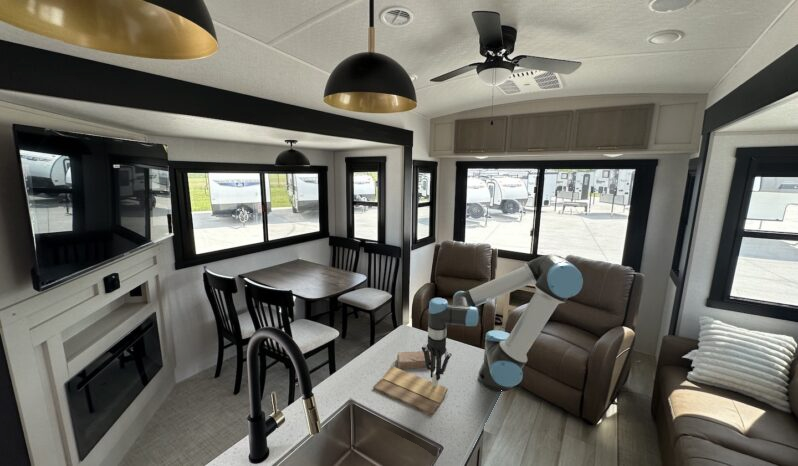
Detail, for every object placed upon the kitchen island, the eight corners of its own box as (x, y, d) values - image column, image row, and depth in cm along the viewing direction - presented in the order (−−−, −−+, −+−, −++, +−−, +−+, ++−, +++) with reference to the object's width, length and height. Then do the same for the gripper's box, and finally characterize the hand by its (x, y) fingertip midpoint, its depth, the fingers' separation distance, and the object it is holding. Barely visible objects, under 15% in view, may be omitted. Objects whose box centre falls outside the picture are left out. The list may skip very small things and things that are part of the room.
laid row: (438, 406, 124) (438, 403, 124) (432, 416, 119) (432, 413, 118) (381, 381, 138) (381, 378, 138) (373, 389, 133) (373, 386, 133)
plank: (447, 390, 131) (447, 388, 130) (439, 405, 125) (439, 402, 124) (392, 367, 145) (391, 365, 145) (382, 380, 139) (382, 378, 138)
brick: (398, 369, 147) (398, 360, 146) (396, 359, 155) (397, 350, 154) (432, 368, 149) (433, 359, 148) (429, 358, 157) (429, 349, 156)
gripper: (455, 335, 127) (452, 385, 132) (426, 326, 133) (425, 374, 138) (448, 344, 120) (445, 396, 126) (418, 334, 127) (417, 384, 132)
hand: (435, 385), depth 132 cm, fingers closed
